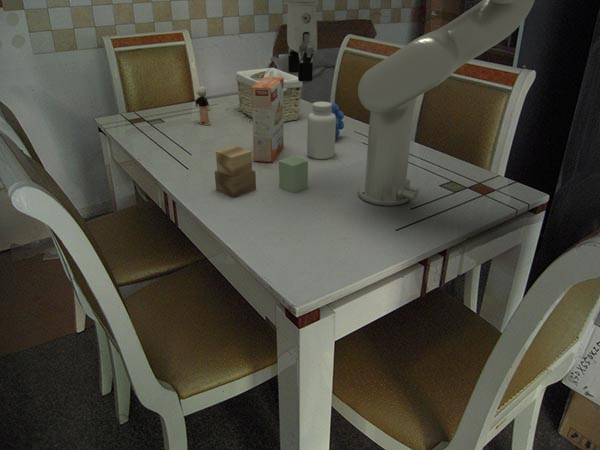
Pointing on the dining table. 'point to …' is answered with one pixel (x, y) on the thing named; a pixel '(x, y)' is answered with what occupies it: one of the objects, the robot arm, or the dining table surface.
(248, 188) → the tower base
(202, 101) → the grandmother figurine
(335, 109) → the grapes
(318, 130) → the pill bottle
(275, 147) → the cracker box
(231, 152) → the tower mid
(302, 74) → the robot arm
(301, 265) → the dining table surface
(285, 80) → the storage basket
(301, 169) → the sage block
